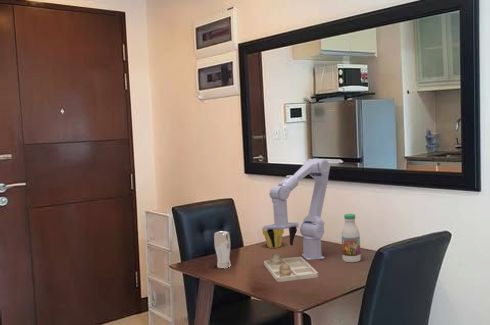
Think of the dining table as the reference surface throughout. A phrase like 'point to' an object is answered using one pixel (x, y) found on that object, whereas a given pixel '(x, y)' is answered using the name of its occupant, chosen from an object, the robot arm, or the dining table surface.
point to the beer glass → (222, 248)
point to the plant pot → (277, 238)
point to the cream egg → (275, 259)
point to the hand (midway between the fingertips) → (282, 245)
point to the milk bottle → (350, 240)
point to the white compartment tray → (292, 269)
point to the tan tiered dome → (285, 270)
